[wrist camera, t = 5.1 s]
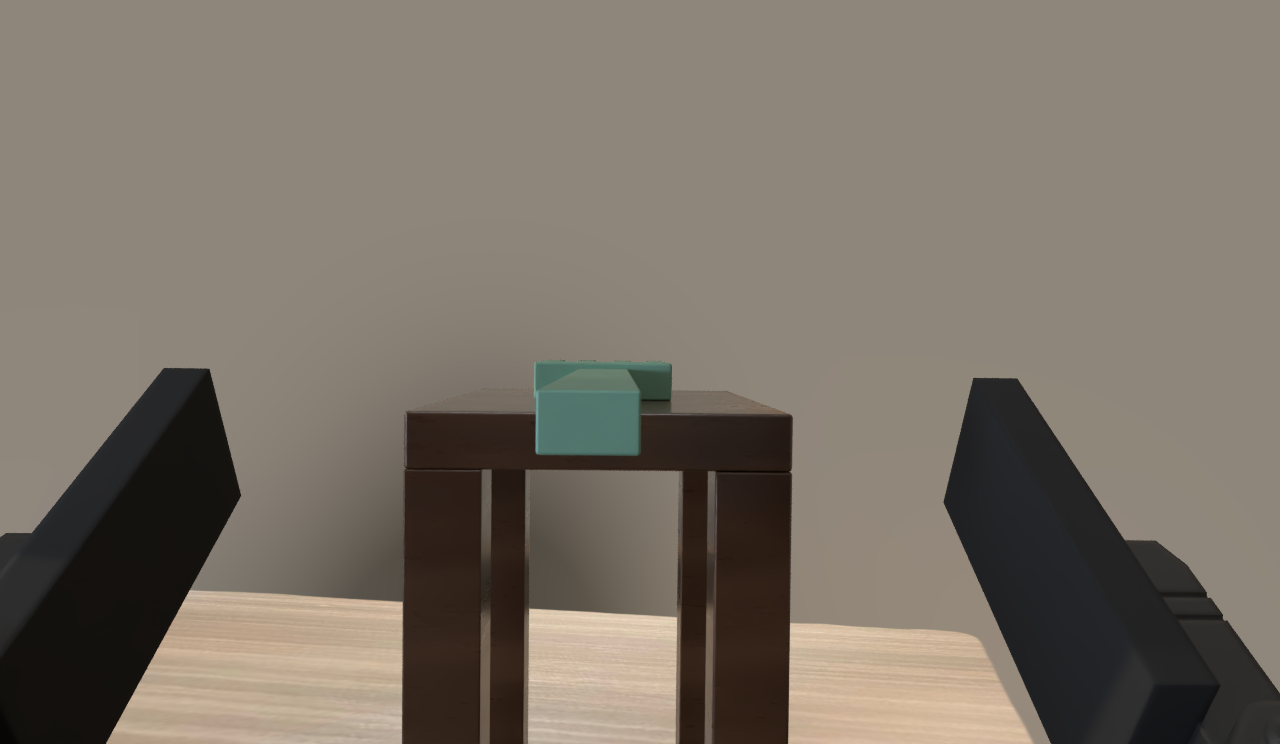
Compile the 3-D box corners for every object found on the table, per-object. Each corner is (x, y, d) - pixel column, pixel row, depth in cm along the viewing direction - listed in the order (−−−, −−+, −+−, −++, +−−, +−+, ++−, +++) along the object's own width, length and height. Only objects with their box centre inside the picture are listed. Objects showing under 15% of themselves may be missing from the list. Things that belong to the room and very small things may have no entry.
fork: (732, 457, 14) (734, 378, 14) (441, 454, 14) (442, 375, 14) (662, 392, 36) (662, 361, 36) (547, 391, 36) (547, 359, 36)
